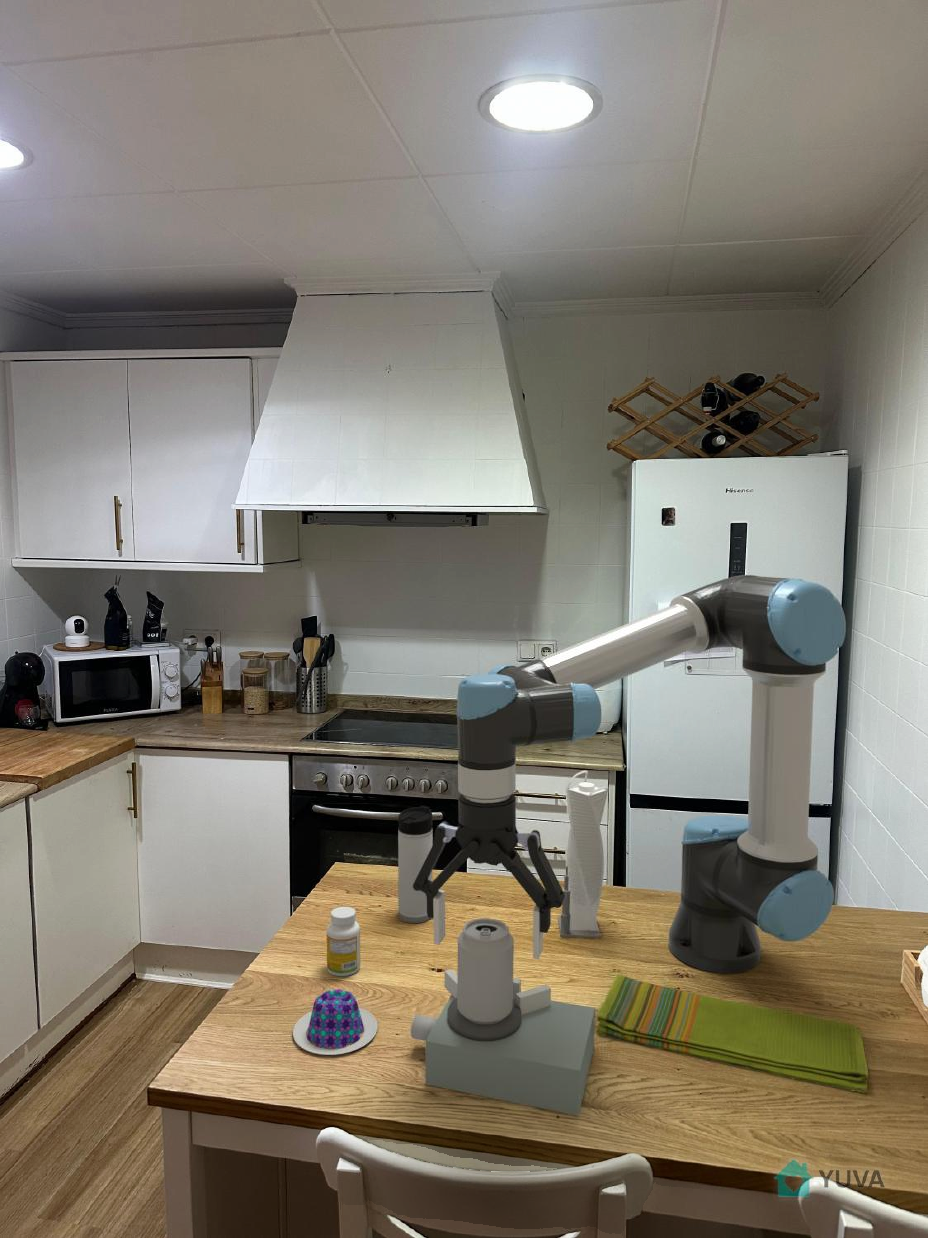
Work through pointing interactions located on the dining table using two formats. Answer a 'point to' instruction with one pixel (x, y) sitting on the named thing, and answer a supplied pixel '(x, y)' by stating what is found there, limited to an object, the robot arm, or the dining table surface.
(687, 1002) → the dish towel
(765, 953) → the dining table surface
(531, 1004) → the gearbox
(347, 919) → the supplement bottle
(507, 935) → the can
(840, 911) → the dining table surface
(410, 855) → the travel mug
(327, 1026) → the pudding
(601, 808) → the skyscraper
